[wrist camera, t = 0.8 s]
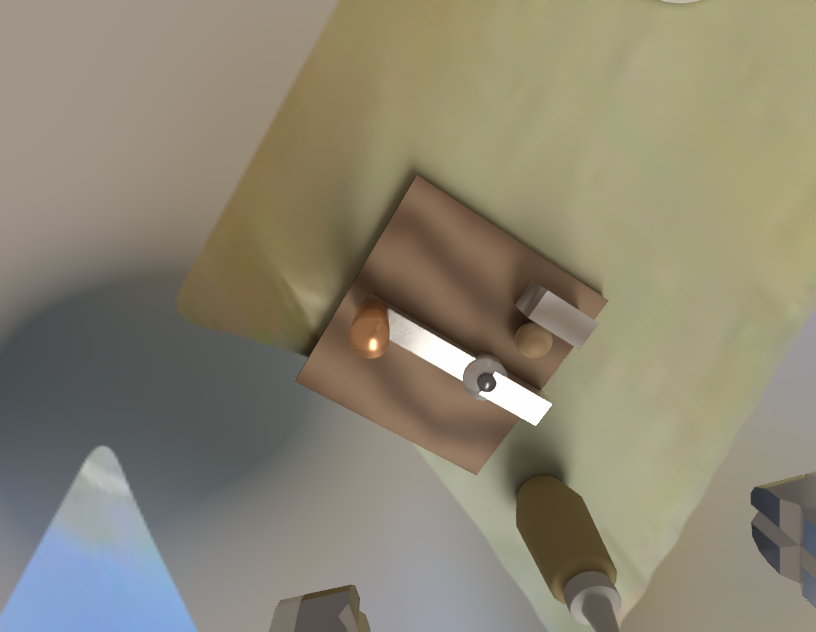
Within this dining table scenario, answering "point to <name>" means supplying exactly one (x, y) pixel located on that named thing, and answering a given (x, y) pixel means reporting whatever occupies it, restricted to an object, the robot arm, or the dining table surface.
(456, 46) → the dining table surface
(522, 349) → the tan wooden ball
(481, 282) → the walnut board
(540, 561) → the squeeze bottle
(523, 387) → the lever
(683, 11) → the dining table surface
